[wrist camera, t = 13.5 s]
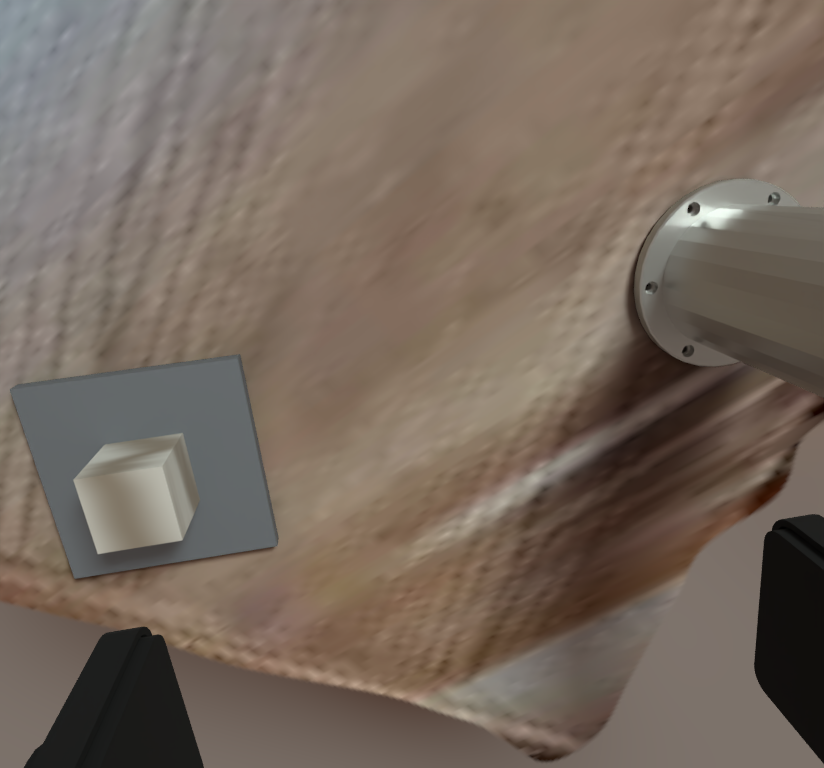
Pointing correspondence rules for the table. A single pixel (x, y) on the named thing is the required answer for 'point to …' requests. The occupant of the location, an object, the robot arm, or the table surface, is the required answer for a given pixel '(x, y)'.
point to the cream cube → (138, 493)
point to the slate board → (145, 418)
